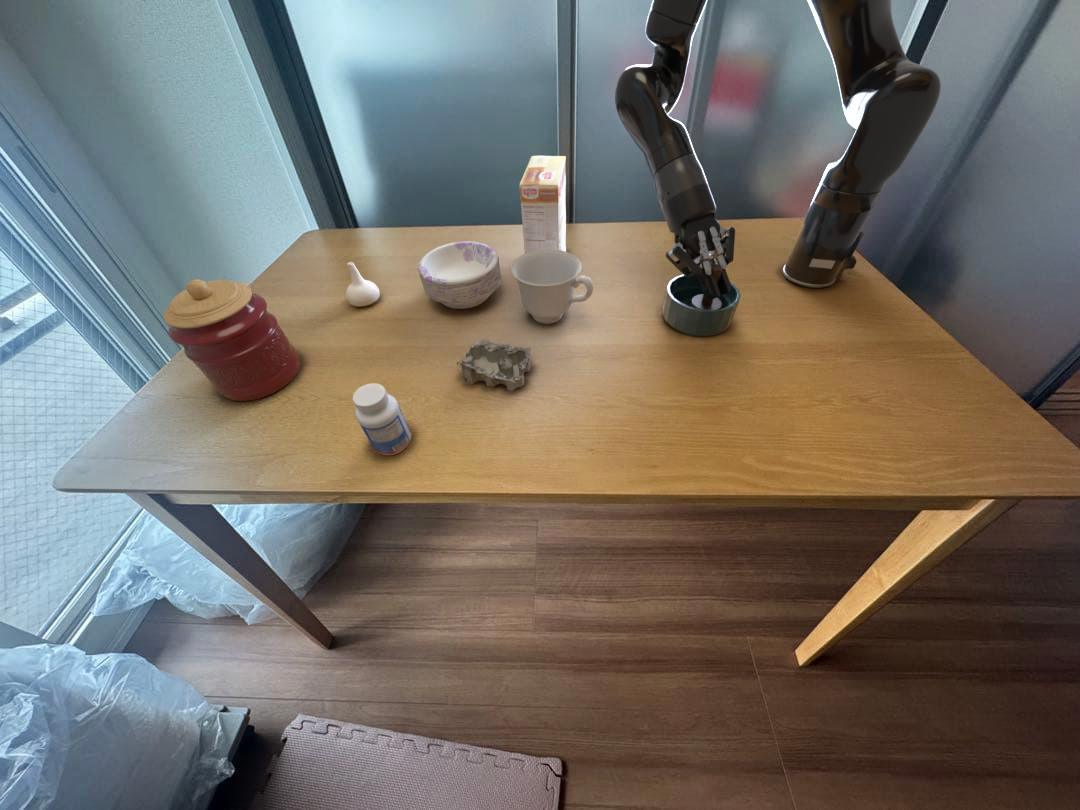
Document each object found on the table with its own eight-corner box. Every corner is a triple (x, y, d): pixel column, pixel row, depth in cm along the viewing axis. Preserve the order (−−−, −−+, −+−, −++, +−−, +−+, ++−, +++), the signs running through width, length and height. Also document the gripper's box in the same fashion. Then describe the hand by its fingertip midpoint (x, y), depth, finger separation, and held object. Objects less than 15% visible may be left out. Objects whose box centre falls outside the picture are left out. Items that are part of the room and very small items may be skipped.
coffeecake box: (536, 250, 95) (530, 155, 81) (567, 251, 94) (567, 154, 80) (525, 285, 85) (517, 184, 71) (560, 287, 84) (559, 184, 70)
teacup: (573, 347, 71) (574, 297, 64) (502, 322, 77) (496, 273, 70) (604, 311, 78) (609, 262, 71) (537, 290, 84) (535, 243, 76)
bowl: (712, 295, 80) (720, 269, 76) (743, 332, 72) (753, 305, 68) (652, 303, 79) (657, 277, 75) (676, 342, 71) (683, 315, 67)
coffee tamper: (710, 302, 75) (724, 258, 69) (723, 318, 72) (739, 273, 65) (684, 305, 75) (695, 261, 68) (696, 322, 71) (709, 277, 65)
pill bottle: (377, 428, 61) (352, 380, 54) (414, 424, 61) (394, 376, 54) (369, 458, 57) (342, 411, 50) (409, 455, 57) (387, 407, 50)
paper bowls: (412, 310, 81) (400, 272, 75) (451, 271, 90) (444, 235, 85) (481, 325, 77) (474, 287, 71) (515, 283, 86) (512, 246, 80)
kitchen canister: (222, 363, 72) (148, 270, 59) (301, 342, 76) (246, 249, 63) (215, 413, 64) (126, 319, 51) (303, 387, 67) (241, 292, 54)
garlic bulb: (357, 313, 81) (341, 276, 75) (344, 301, 84) (328, 264, 78) (387, 301, 84) (373, 264, 78) (373, 288, 87) (359, 252, 81)
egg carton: (457, 382, 67) (452, 363, 64) (477, 352, 71) (473, 333, 68) (519, 395, 64) (517, 375, 61) (535, 363, 69) (534, 344, 66)
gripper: (664, 192, 61) (705, 303, 63) (731, 172, 66) (768, 276, 67) (636, 216, 69) (674, 315, 70) (699, 196, 73) (733, 290, 74)
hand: (720, 295), depth 69 cm, fingers closed on coffee tamper
